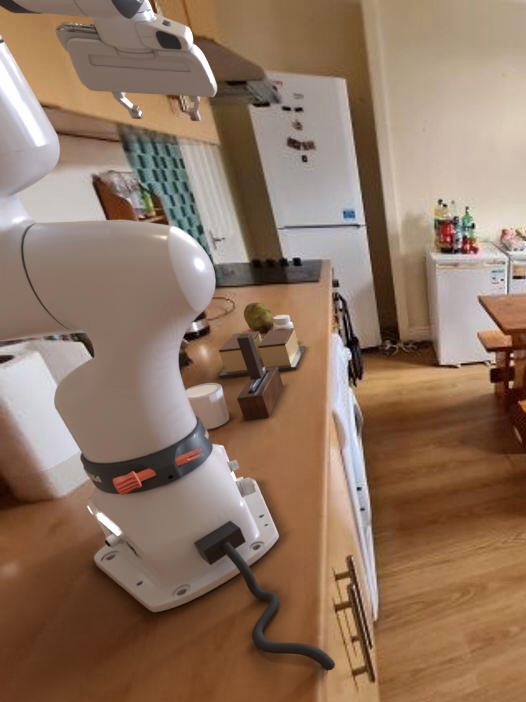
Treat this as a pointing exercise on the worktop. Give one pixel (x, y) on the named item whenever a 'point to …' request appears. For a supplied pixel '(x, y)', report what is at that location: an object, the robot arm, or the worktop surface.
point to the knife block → (261, 396)
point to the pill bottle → (282, 322)
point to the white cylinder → (208, 404)
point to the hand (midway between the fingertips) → (167, 118)
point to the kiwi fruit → (258, 318)
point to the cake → (263, 352)
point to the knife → (251, 360)
